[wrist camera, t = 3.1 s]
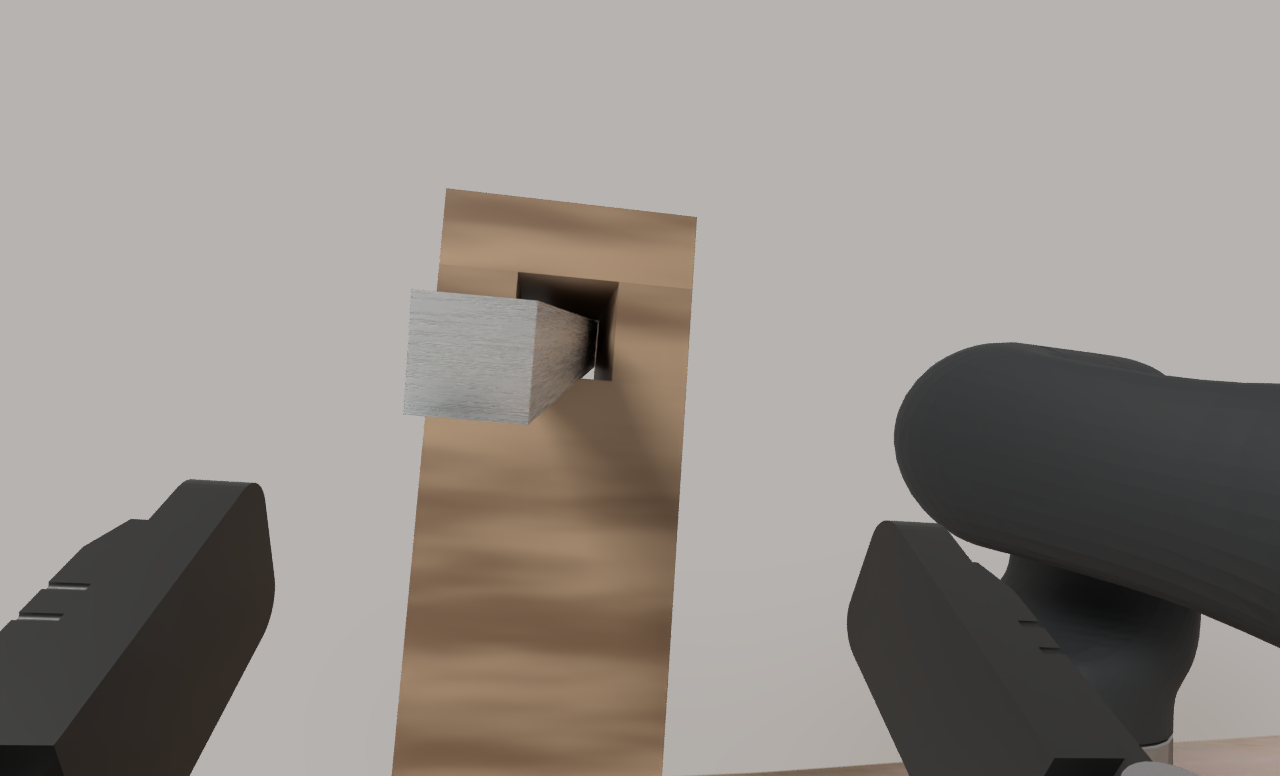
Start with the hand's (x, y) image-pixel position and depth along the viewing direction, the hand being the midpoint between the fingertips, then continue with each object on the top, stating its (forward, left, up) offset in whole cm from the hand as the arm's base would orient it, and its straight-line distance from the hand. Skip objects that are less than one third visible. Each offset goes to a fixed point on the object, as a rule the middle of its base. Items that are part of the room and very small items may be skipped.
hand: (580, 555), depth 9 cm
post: (-11, -20, -26) cm, 35 cm away
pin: (-7, -14, +4) cm, 17 cm away
